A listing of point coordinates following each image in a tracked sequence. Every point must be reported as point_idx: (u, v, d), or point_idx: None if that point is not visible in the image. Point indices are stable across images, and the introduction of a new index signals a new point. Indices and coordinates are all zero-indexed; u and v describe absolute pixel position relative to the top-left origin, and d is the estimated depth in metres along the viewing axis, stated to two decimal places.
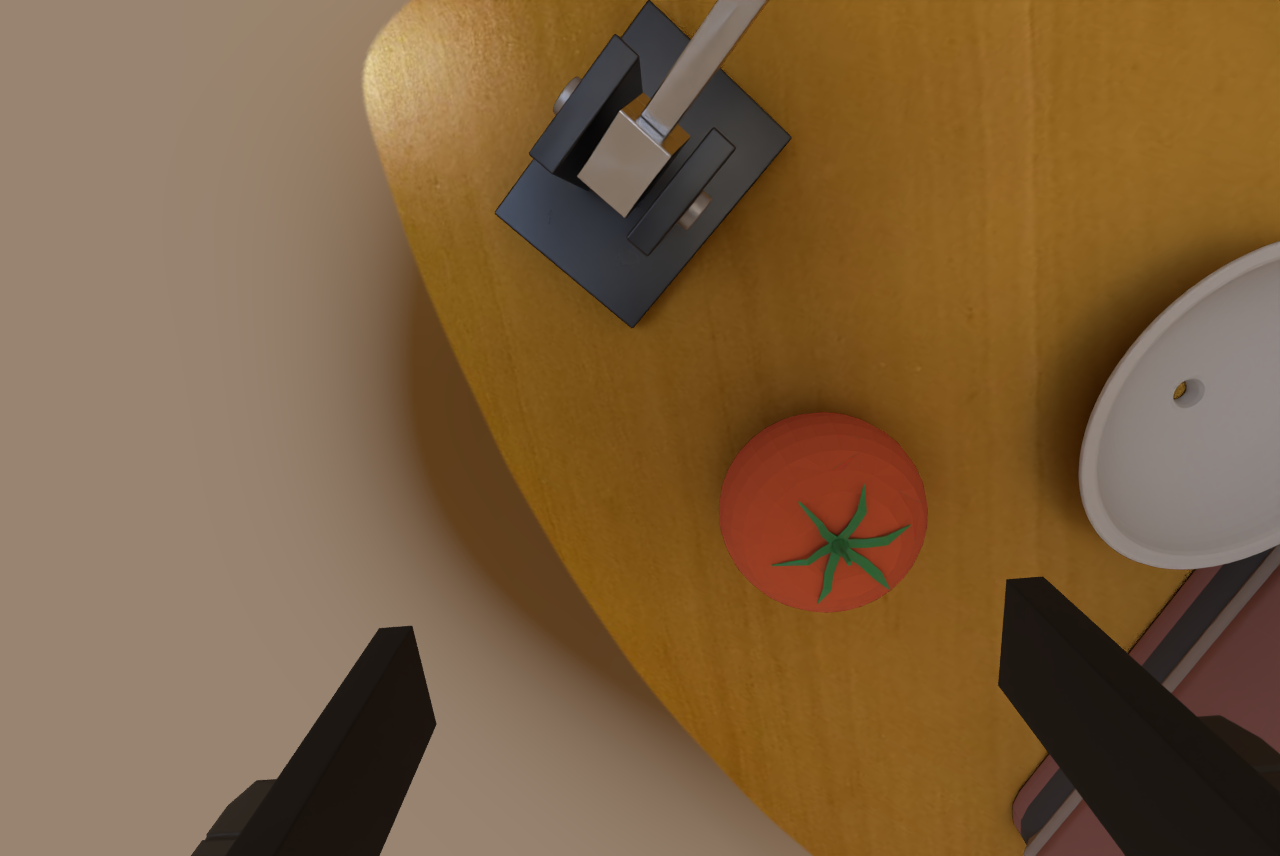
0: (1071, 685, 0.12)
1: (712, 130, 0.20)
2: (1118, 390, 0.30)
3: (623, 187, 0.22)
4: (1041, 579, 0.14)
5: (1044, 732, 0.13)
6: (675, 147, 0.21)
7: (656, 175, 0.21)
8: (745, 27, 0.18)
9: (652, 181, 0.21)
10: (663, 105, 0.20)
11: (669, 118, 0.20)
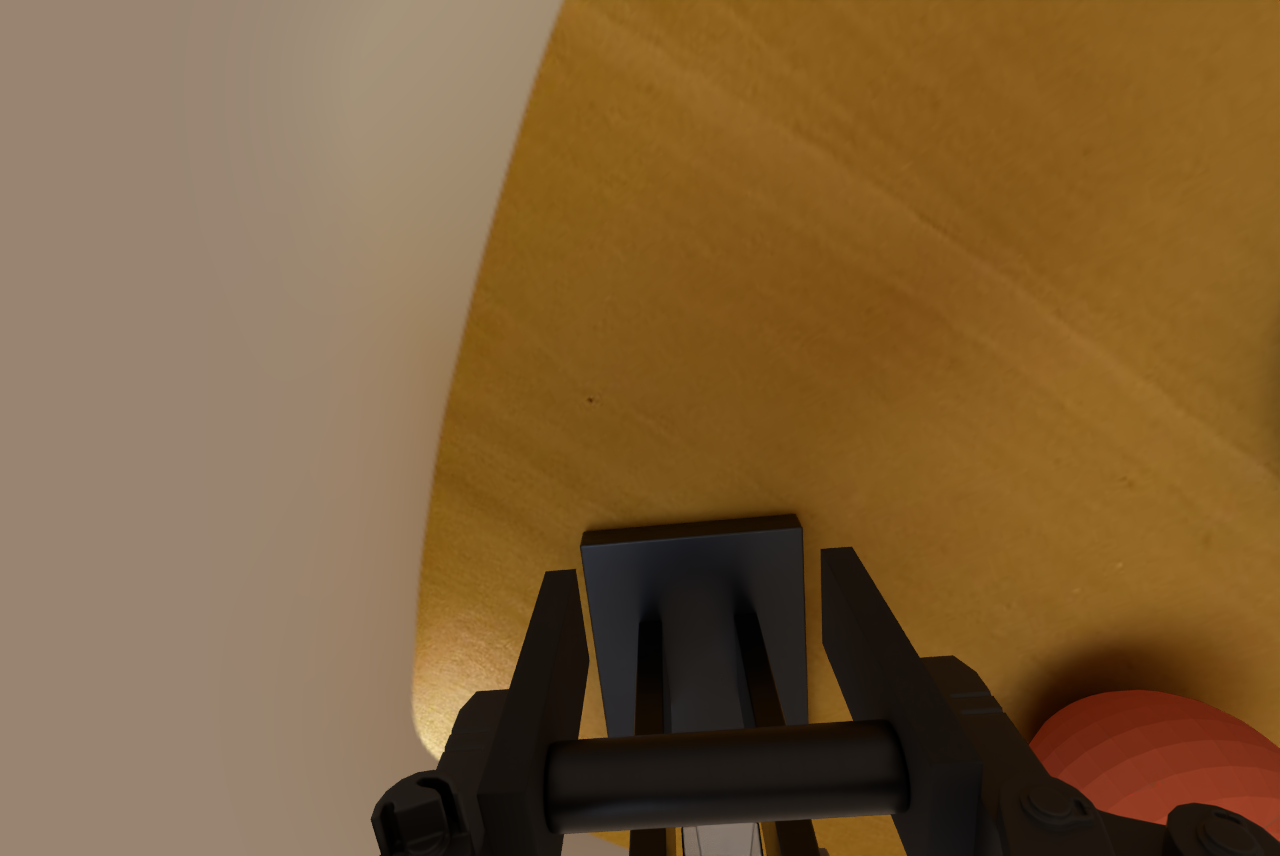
0: (848, 635, 0.14)
1: None
2: None
3: None
4: (851, 549, 0.15)
5: (841, 679, 0.15)
6: None
7: None
8: None
9: None
10: None
11: None
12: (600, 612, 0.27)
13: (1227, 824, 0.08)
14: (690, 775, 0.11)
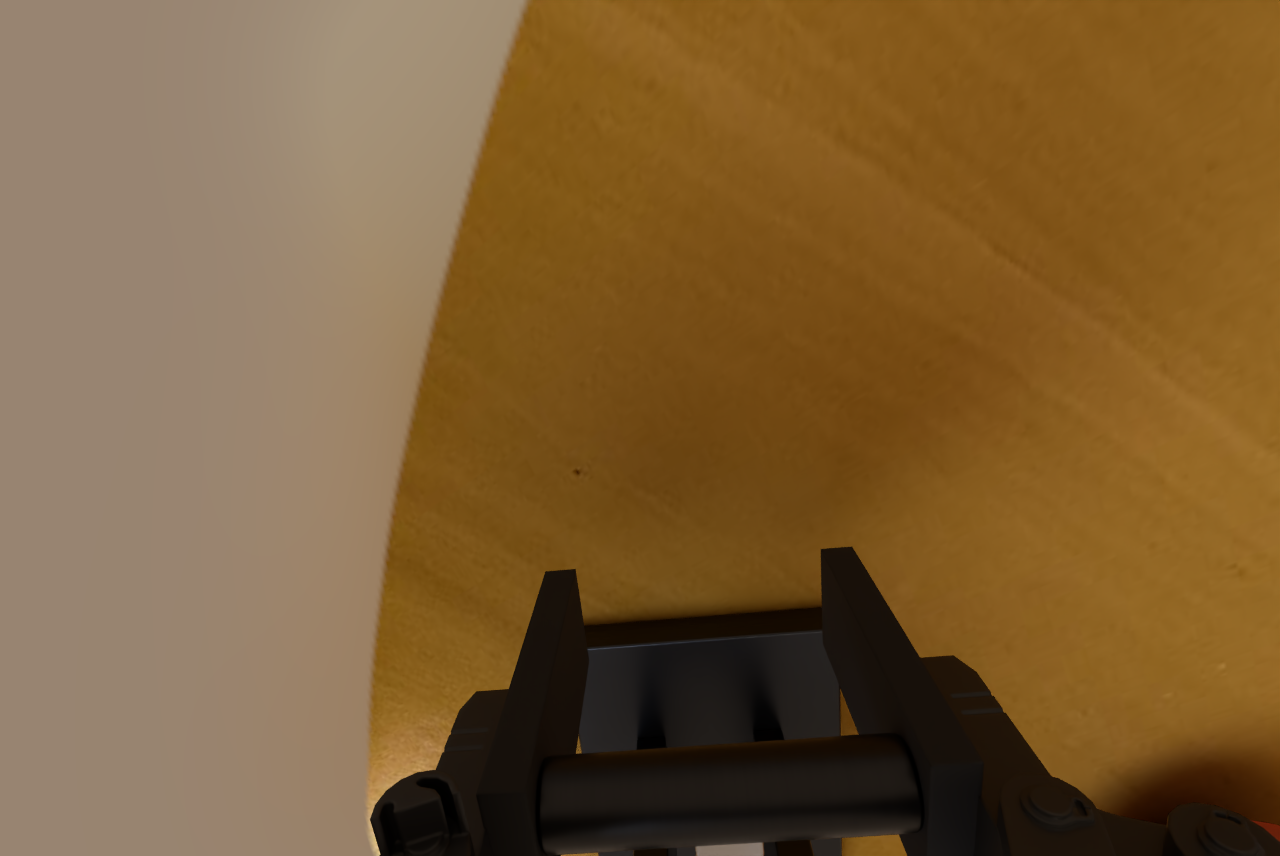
0: (848, 635, 0.14)
1: None
2: None
3: None
4: (851, 549, 0.15)
5: (841, 679, 0.15)
6: None
7: None
8: None
9: None
10: None
11: None
12: (590, 726, 0.22)
13: (1227, 824, 0.08)
14: (689, 769, 0.10)
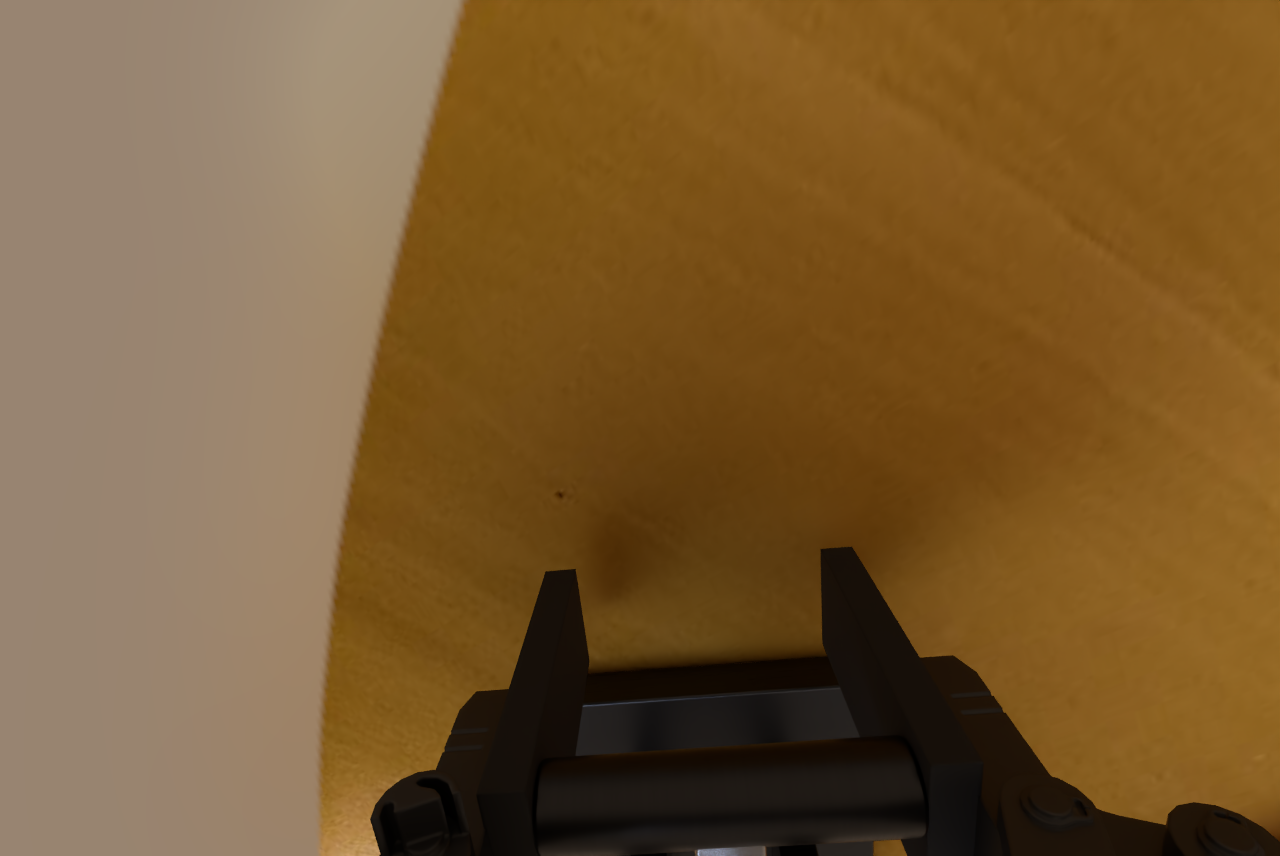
0: (848, 635, 0.14)
1: None
2: None
3: None
4: (850, 549, 0.15)
5: (841, 678, 0.15)
6: None
7: None
8: None
9: None
10: None
11: None
12: None
13: (1226, 824, 0.08)
14: (688, 759, 0.10)
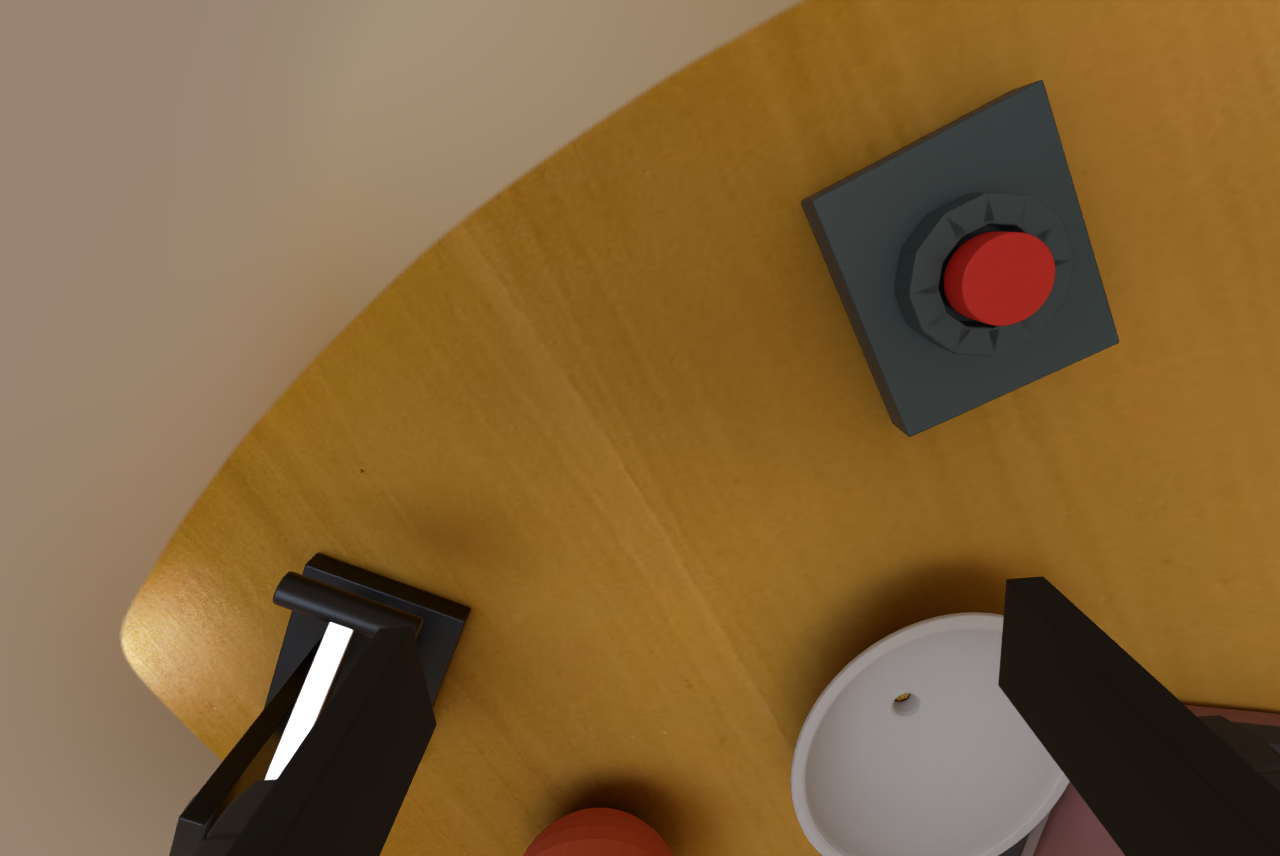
0: (1071, 685, 0.12)
1: None
2: (802, 773, 0.33)
3: None
4: (1041, 579, 0.14)
5: (1044, 732, 0.13)
6: None
7: None
8: (314, 722, 0.27)
9: None
10: None
11: None
12: (299, 614, 0.35)
13: None
14: (343, 592, 0.27)
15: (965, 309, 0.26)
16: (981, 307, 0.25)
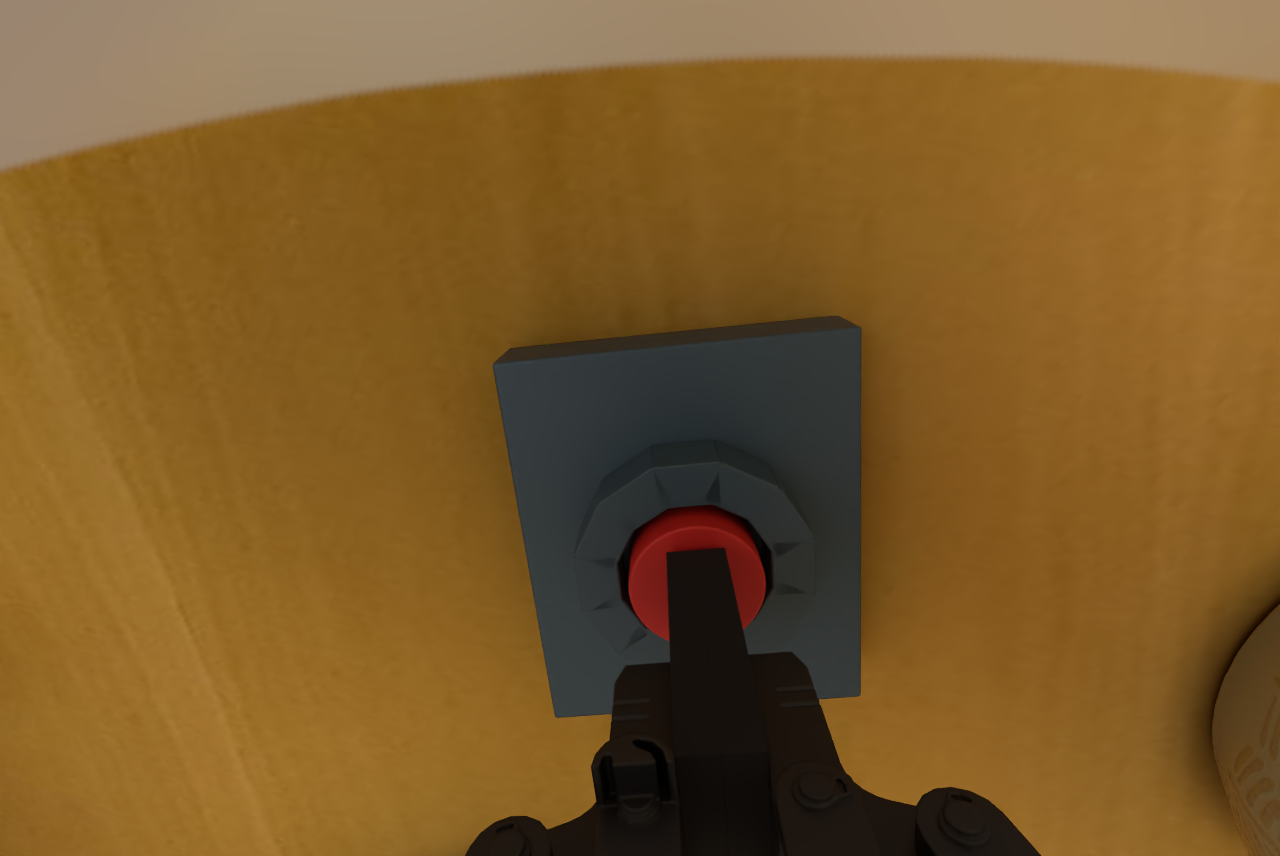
0: None
1: None
2: None
3: None
4: (724, 549, 0.16)
5: None
6: None
7: None
8: None
9: None
10: None
11: None
12: None
13: (961, 804, 0.09)
14: None
15: None
16: (650, 610, 0.17)
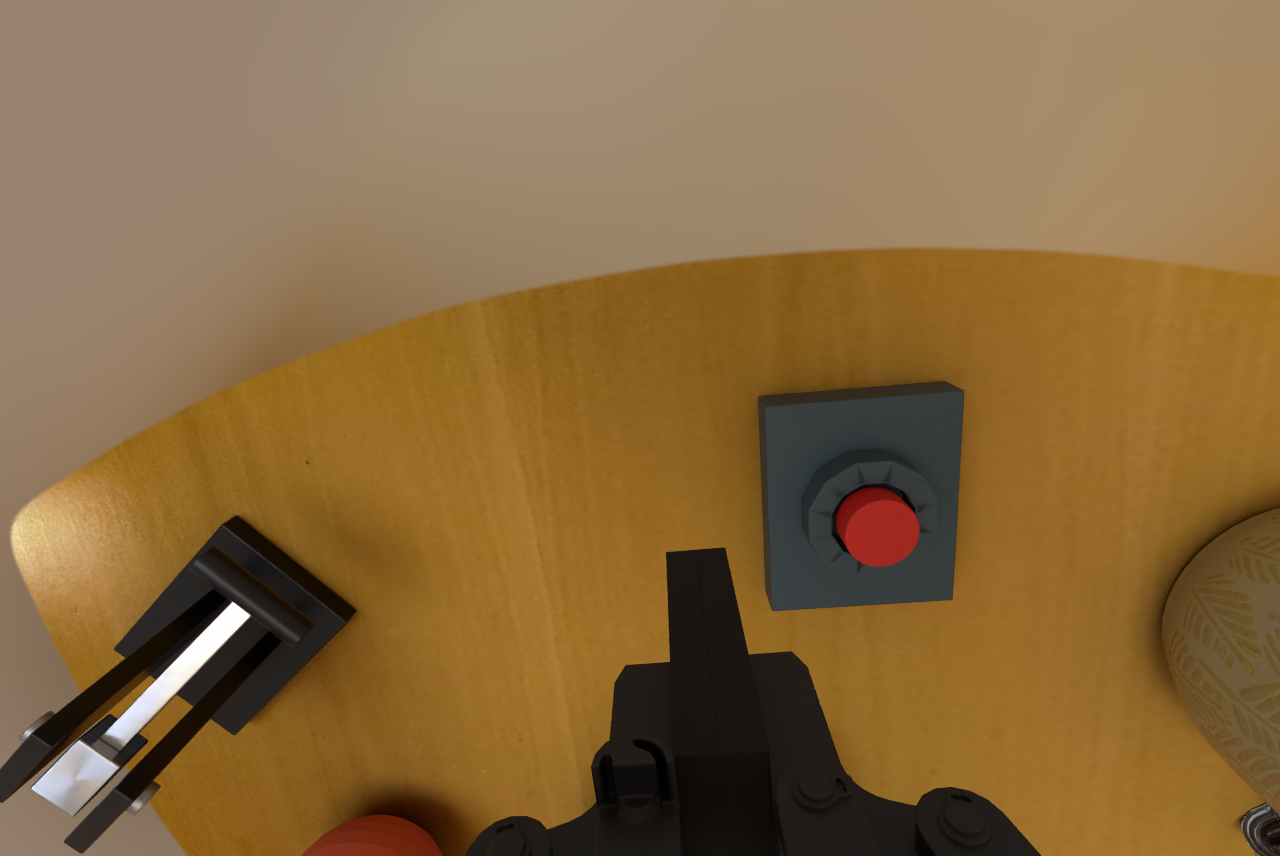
0: None
1: (113, 790, 0.28)
2: None
3: (74, 793, 0.28)
4: (724, 550, 0.16)
5: None
6: (127, 757, 0.29)
7: (106, 781, 0.28)
8: (184, 684, 0.30)
9: (102, 786, 0.28)
10: (119, 730, 0.29)
11: (123, 738, 0.29)
12: None
13: (960, 803, 0.09)
14: (254, 580, 0.30)
15: (844, 541, 0.32)
16: (855, 545, 0.31)
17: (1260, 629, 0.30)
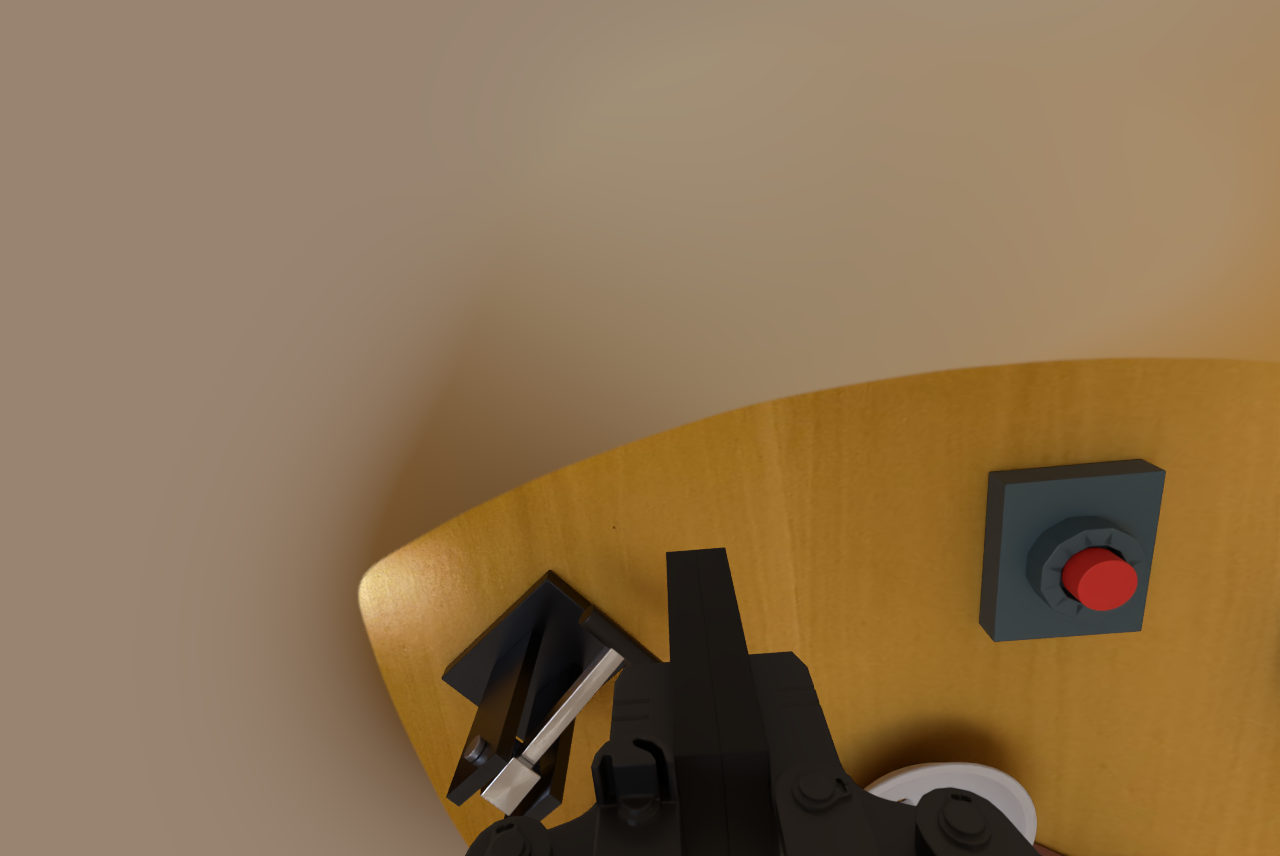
0: None
1: (548, 795, 0.36)
2: None
3: (510, 798, 0.37)
4: (724, 549, 0.16)
5: None
6: (539, 769, 0.38)
7: (531, 788, 0.37)
8: (578, 712, 0.38)
9: (528, 792, 0.37)
10: (534, 749, 0.38)
11: (537, 755, 0.38)
12: (522, 610, 0.46)
13: (961, 804, 0.09)
14: (623, 630, 0.39)
15: (1075, 591, 0.40)
16: (1085, 595, 0.40)
17: None
